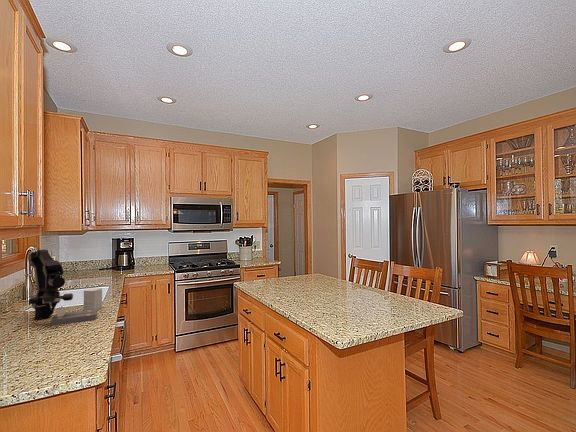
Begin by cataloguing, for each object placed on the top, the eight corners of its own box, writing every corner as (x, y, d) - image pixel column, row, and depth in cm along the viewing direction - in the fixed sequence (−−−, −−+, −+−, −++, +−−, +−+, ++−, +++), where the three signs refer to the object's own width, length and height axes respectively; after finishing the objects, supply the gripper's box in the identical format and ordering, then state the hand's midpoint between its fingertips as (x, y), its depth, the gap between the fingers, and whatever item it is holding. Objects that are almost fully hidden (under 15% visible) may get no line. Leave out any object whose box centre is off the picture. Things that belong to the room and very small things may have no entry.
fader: (56, 317, 167) (57, 308, 167) (58, 314, 172) (58, 306, 172) (63, 316, 169) (63, 308, 169) (65, 313, 173) (65, 305, 173)
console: (50, 325, 163) (51, 319, 163) (55, 319, 174) (55, 314, 174) (95, 320, 173) (95, 314, 173) (96, 314, 183) (96, 309, 183)
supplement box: (102, 308, 197) (102, 288, 198) (94, 311, 190) (94, 290, 190) (91, 307, 198) (92, 287, 198) (83, 310, 191) (83, 290, 191)
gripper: (25, 290, 157) (25, 321, 157) (70, 286, 166) (69, 315, 165) (31, 286, 167) (31, 315, 166) (73, 283, 175) (72, 310, 175)
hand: (51, 314), depth 168 cm, fingers closed
